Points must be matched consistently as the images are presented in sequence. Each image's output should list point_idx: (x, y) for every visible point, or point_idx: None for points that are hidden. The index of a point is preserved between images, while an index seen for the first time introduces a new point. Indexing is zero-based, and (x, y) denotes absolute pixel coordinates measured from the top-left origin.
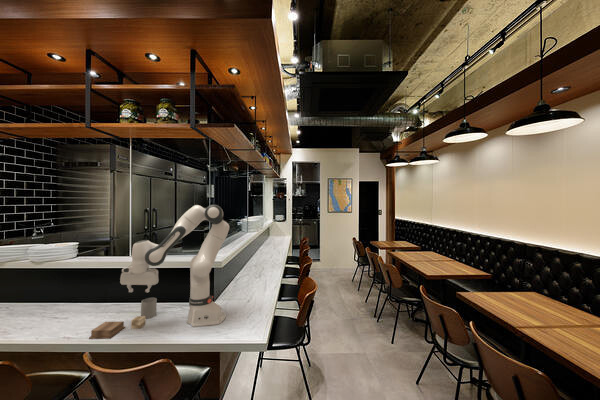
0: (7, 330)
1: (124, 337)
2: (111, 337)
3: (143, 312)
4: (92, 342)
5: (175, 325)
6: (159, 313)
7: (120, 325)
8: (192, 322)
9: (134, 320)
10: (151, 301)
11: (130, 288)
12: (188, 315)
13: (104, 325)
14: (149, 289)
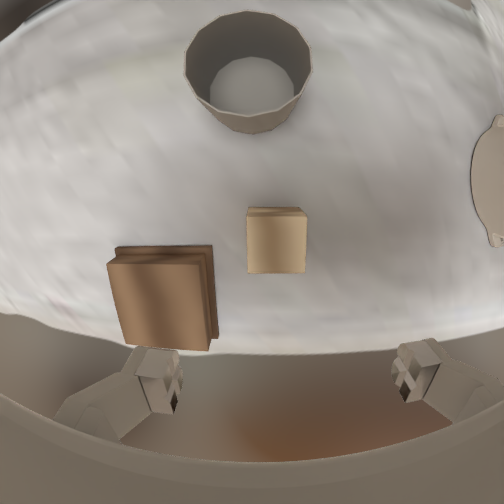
0: None
1: (271, 328)
2: (218, 334)
3: (239, 127)
4: None
5: (442, 226)
6: None
7: (202, 286)
8: (497, 235)
9: (267, 272)
10: (239, 26)
11: (138, 403)
12: (494, 199)
13: (135, 304)
14: (445, 356)
